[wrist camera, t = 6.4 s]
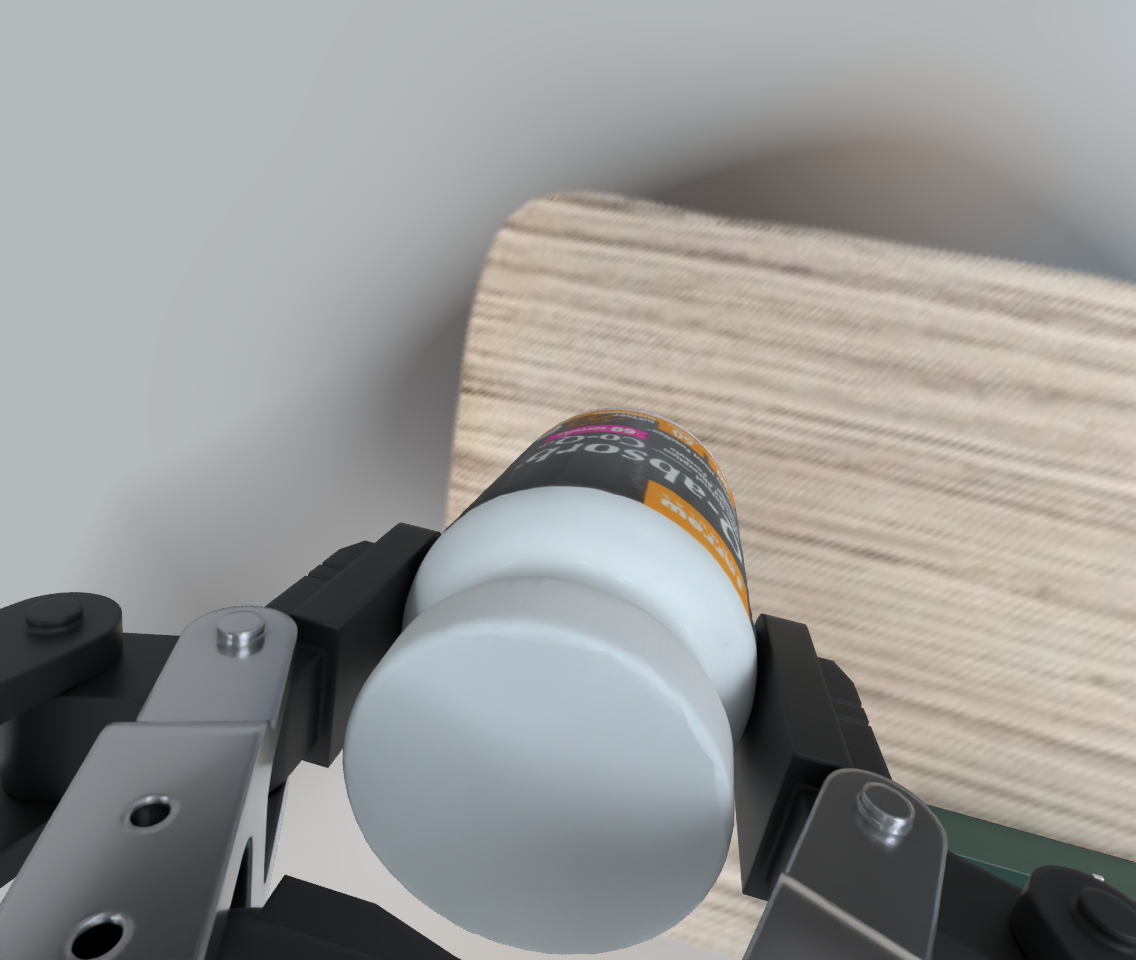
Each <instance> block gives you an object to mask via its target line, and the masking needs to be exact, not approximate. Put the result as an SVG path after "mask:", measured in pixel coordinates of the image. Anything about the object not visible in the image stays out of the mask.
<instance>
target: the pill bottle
mask: <svg viewBox="0 0 1136 960" xmlns="http://www.w3.org/2000/svg"><path fill="white" fill-rule="evenodd" d="M756 680H757V642H756V630H755V627H754V623H753V620H752V613H751V609H750V603H749V594H748V588H747V580H746V573H745V567H744V559H743V553H742V548H741V542H740V535H739V527H738V521H737V514H736V509H735V504H734V499H733V495H732V492H731V490H730V487H729V485H728V482H727V480H726V477H725V475H724V473H723V471H722V469H721V467H720V466H719V464H718V462H717V461H716V460H715V458H714V457H713V455H712V454H711V453H710V451H709V450H708V449H707V448H706V447H705V445H704V444H703V443H702V442H701V441H700V440H699V439H697V438H696V437H695V436H694V435H693V434H691V433H690V432H689V431H687V430H686V429H684V428H683V427H681V426H680V425H678V424H677V423H675V422H673V421H671V420H669V419H667V418H664V417H662V416H659V415H656V414H653V413H650V412H646V411H642V410H636V409H629V408H605V409H598V410H593V411H589V412H585V413H582V414H579V415H576V416H574V417H571V418H569V419H567V420H565V421H563V422H561V423H559V424H558V425H556V426H554V427H553V428H552V429H550V430H549V431H547V432H546V433H545V434H543V435H542V436H541V437H540V438H539V439H537V440H536V441H535V442H534V443H533V444H532V445H531V446H530V447H529V448H528V449H527V450H526V451H525V452H523V453H522V454H521V455H520V456H519V457H518V458H517V459H516V460H515V461H514V462H513V463H512V464H511V465H510V466H509V467H508V468H507V469H506V470H505V472H504V473H503V474H502V475H501V476H500V477H499V478H498V479H497V480H495V481H494V482H493V483H492V484H491V485H490V486H489V487H488V488H487V489H486V490H485V491H483V493H482V494H481V495H480V496H479V497H478V498H477V499H476V500H475V501H474V502H473V503H472V504H471V505H470V506H469V507H468V508H467V509H466V510H465V511H463V513H462V514H461V515H460V516H459V517H458V518H457V519H456V520H455V521H454V522H453V523H452V524H451V525H450V526H449V527H447V528H446V530H445V531H444V532H443V533H442V534H441V536H440V537H439V538H438V539H437V541H436V542H435V543H434V544H433V546H432V547H431V548H430V550H429V552H428V553H427V555H426V556H425V558H424V560H423V561H422V563H421V565H420V567H419V569H418V571H417V573H416V576H415V578H414V580H413V583H412V585H411V588H410V591H409V594H408V597H407V600H406V604H405V609H404V614H403V622H402V632H401V635H400V636H399V637H398V638H397V640H396V641H395V642H394V644H393V645H392V646H391V648H390V649H389V650H388V652H387V653H386V654H385V656H384V657H383V658H382V660H381V661H380V662H379V664H378V665H377V666H376V668H375V669H374V670H373V672H372V673H371V674H370V676H369V677H368V679H367V680H366V682H365V683H364V685H363V687H362V689H361V690H360V692H359V694H358V696H357V698H356V700H355V703H354V705H353V708H352V711H351V713H350V716H349V719H348V722H347V727H346V731H345V739H344V746H343V771H344V778H345V784H346V789H347V794H348V798H349V801H350V804H351V807H352V810H353V813H354V816H355V819H356V822H357V824H358V826H359V828H360V829H361V831H362V833H363V835H364V838H365V840H366V841H367V843H368V844H369V846H370V847H371V849H372V851H373V852H374V853H375V854H376V856H377V857H378V858H379V860H380V861H381V862H382V863H383V865H384V866H385V867H386V868H387V870H388V871H389V872H390V873H391V874H392V875H393V876H394V877H395V878H396V879H397V880H398V881H399V882H400V883H401V884H402V885H403V886H404V887H405V888H406V889H407V890H408V891H409V892H410V893H411V894H413V895H414V896H415V897H416V898H417V899H419V900H420V901H421V902H422V903H424V904H425V905H426V906H428V907H429V908H430V909H432V910H433V911H435V912H437V913H438V914H440V915H442V916H443V917H445V918H446V919H448V920H450V921H451V922H452V923H454V924H456V925H457V926H459V927H461V928H463V929H465V930H467V931H469V932H471V933H474V934H478V935H480V936H483V937H485V938H487V939H489V940H492V941H495V942H498V943H502V944H505V945H509V946H513V947H516V948H521V949H525V950H530V951H536V952H542V953H549V954H597V953H603V952H608V951H613V950H618V949H623V948H626V947H630V946H633V945H636V944H639V943H641V942H644V941H647V940H649V939H652V938H654V937H656V936H658V935H659V934H661V933H663V932H665V931H667V930H669V929H671V928H672V927H674V926H675V925H677V924H678V923H679V922H680V921H681V920H682V919H684V918H685V917H686V916H687V915H689V914H690V913H691V912H692V911H693V910H694V909H695V907H696V906H697V905H698V904H699V903H701V902H702V901H703V900H704V898H705V897H706V895H707V894H708V892H709V891H710V889H711V888H712V886H713V885H714V883H715V882H716V880H717V878H718V876H719V874H720V872H721V871H722V868H723V866H724V863H725V861H726V857H727V854H728V850H729V846H730V842H731V837H732V832H733V827H734V755H733V751H734V750H735V748H736V747H737V745H738V743H739V741H740V739H741V737H742V735H743V733H744V730H745V728H746V725H747V722H748V719H749V716H750V713H751V710H752V706H753V701H754V696H755V689H756Z"/></svg>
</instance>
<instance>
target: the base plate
mask: <svg viewBox="0 0 1136 960" xmlns="http://www.w3.org/2000/svg"><path fill="white" fill-rule="evenodd" d="M925 805H926V804H925ZM927 806H928V807H929V808H930V810H931V811H932V812H933V813H934V814H935V816H936V817H937V818H938V820H939V821H940V823H941V824H942V826H943V829H944V831H945V833H946V837H947V840H948V848H947V849H948V850H950V851H951V852H953V853H954V854H956V855H958V856H959V857H961V858H963V859H965V860H967V861H968V862H970V863H972V864H974V865H976V866H978V867H980V868H982V869H984V870H986V871H988V872H990V873H992V874H994V875H996V876H998V877H1000V878H1002V879H1004V880H1006V881H1008V882H1010V883H1012V884H1014V885H1016V886H1018V887H1019V888H1021V889H1023V888H1024V887H1025V885H1026V883H1027V881H1028V879H1029V878H1030V876H1031V874H1032V872H1033V871H1034V870H1035V869H1036V868H1039V867H1041V866H1046V865H1057V866H1063V867H1068V868H1072V869H1075V870H1078V871H1081V872H1083V873H1086V874H1088V875H1090V876H1092V877H1095V878H1097V879H1099V880H1100V881H1102V882H1104V883H1106V884H1108V885H1110V886H1111V887H1113V888H1115V889H1116V890H1118V891H1119V892H1121V893H1123V894H1124V895H1125V896H1127V897H1128V898H1130V899H1131V900H1132V901H1134V902H1135V903H1136V863H1135V862H1131V861H1128V860H1124V859H1120V858H1117V857H1113V856H1110V855H1106V854H1102V853H1099V852H1095V851H1092V850H1088V849H1084V848H1081V847H1077V846H1074V845H1070V844H1066V843H1063V842H1059V841H1056V840H1052V839H1048V838H1045V837H1041V836H1038V835H1034V834H1030V833H1027V832H1023V831H1020V830H1016V829H1012V828H1009V827H1005V826H1002V825H998V824H994V823H991V822H987V821H984V820H980V819H976V818H973V817H969V816H966V815H962V814H958V813H955V812H951V811H948V810H944V809H940V808H937V807H933V806H930V805H927Z"/></svg>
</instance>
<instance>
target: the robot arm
mask: <svg viewBox="0 0 1136 960" xmlns="http://www.w3.org/2000/svg"><path fill="white" fill-rule="evenodd" d="M440 536H441V533H440V532H437V531H434V530H430V529H426V528H421V527H417V526H414V525H410V524H406V523H399V524H397V525H396V526H395V527H393V528H392V529H391V530H390V531H389V532H387V533H386V534H385V535H384V536H383V537H381V538H380V539H379V540H378V541H377V542H376V543H372V542H368V541H363V542H360V543H357V544H354V545H351V546H348V547H345V548H342V549H339V550H338V551H337V552H335V553H334V554H333V555H332V556H330V557H329V558H328V559H326V560H325V561H324V562H323V564H322V565H319V566H317V567H316V568H315V569H313V570H312V571H311V572H309V575H308V576H304V577H303V578H301V579H300V580H299V581H298V582H296V583H295V584H294V585H293V586H291V587H290V588H288V589H287V590H286V591H285V592H283V593H282V594H281V595H279V596H278V597H277V598H275V599H274V600H273V601H272V602H270V603H269V604H268V605H266V606H265V607H262V606H261V607H260V606H234V607H228V608H222V609H219V610H215V611H212V612H209V613H207V614H204V615H202V616H200V617H198V618H197V619H195V620H194V621H192V622H191V623H190V624H189V625H187V626H186V628H185V629H184V630H183V632H182V634H181V636H171V635H154V634H137V633H123V629H122V610H121V608H120V607H119V605H118V604H117V603H116V602H115V601H114V600H112V599H110V598H107V597H105V596H102V595H97V594H92V593H80V592H70V593H56V594H49V595H43V596H38V597H34V598H30V599H27V600H24V601H21V602H18V603H15V604H12V605H10V606H7V607H4V608H2V609H0V888H1V887H3V886H4V885H5V884H7V883H8V882H10V881H11V880H12V879H14V878H15V877H16V878H15V879H14V881H13V883H12V885H11V886H10V888H9V890H8V892H7V893H6V895H5V897H4V898H3V900H2V902H1V903H0V960H460V959H459V958H457V957H455V956H454V955H452V954H451V953H449V952H448V951H446V950H444V949H443V948H441V947H440V946H438V945H437V944H435V943H434V942H432V941H431V940H429V939H428V938H426V937H425V936H423V935H422V934H420V933H419V932H417V931H416V930H414V929H413V928H411V927H410V926H408V925H407V924H405V923H404V922H402V921H401V920H399V919H398V918H396V917H395V916H393V915H392V914H390V913H389V912H387V911H386V910H384V909H383V908H381V907H380V906H378V905H377V904H375V903H372V902H368V901H365V900H362V899H359V898H356V897H353V896H350V895H347V894H344V893H341V892H337V891H334V890H331V889H328V888H325V887H322V886H319V885H316V884H313V883H309V882H306V881H303V880H300V879H296V878H294V877H291V876H288V875H284V877H283V878H282V880H281V881H280V883H279V884H278V885H277V887H276V888H275V890H274V891H273V893H272V894H271V896H270V897H269V899H268V900H267V898H268V892H269V887H270V882H271V877H272V872H273V867H274V862H275V857H276V852H277V846H278V841H279V836H280V831H281V826H282V821H283V815H284V810H285V805H286V800H287V795H288V782H289V775H290V774H291V772H293V770H294V769H295V768H296V766H297V765H298V764H299V763H300V762H301V760H303V761H306V762H310V763H313V764H317V765H320V766H323V767H327V768H328V767H329V766H330V765H331V764H332V762H333V761H334V759H335V758H336V757H337V755H338V754H339V753H340V751H341V750H342V749H343V746H344V739H345V731H346V727H347V722H348V719H349V716H350V713H351V711H352V708H353V705H354V703H355V700H356V698H357V696H358V694H359V692H360V690H361V689H362V687H363V685H364V683H365V682H366V680H367V679H368V677H369V676H370V674H371V673H372V672H373V670H374V669H375V668H376V666H377V665H378V664H379V662H380V661H381V660H382V658H383V657H384V656H385V654H386V653H387V652H388V650H389V649H390V648H391V646H392V645H393V644H394V642H395V641H396V640H397V638H398V637H399V636H400V635H401V632H402V622H403V614H404V609H405V604H406V600H407V597H408V594H409V591H410V588H411V585H412V583H413V580H414V578H415V576H416V573H417V571H418V569H419V567H420V565H421V563H422V561H423V560H424V558H425V556H426V555H427V553H428V552H429V550H430V548H431V547H432V546H433V544H434V543H435V542H436V541H437V539H438V538H439V537H440ZM754 627H755V630H756V642H757V680H756V689H755V696H754V701H753V706H752V710H751V713H750V716H749V719H748V722H747V725H746V728H745V730H744V733H743V735H742V737H741V739H740V741H739V743H738V745H737V747H736V748H735V750H734V751H733V755H734V795H735V807H736V819H737V832H738V844H739V856H740V868H741V881H742V893H743V894H745V895H749V896H752V897H755V898H759V899H762V900H765V901H768V903H767V906H766V908H765V910H764V912H763V915H762V917H761V919H760V921H759V924H758V926H757V928H756V930H755V933H754V935H753V937H752V939H751V941H750V944H749V946H748V948H747V950H746V953H745V955H744V957H743V959H742V960H1136V903H1135V902H1134V901H1132V900H1131V899H1130V898H1128V897H1127V896H1125V895H1124V894H1123V893H1121V892H1119V891H1118V890H1116V889H1115V888H1113V887H1111V886H1110V885H1108V884H1106V883H1104V882H1102V881H1100V880H1099V879H1097V878H1095V877H1092V876H1090V875H1088V874H1086V873H1083V872H1081V871H1078V870H1075V869H1072V868H1068V867H1063V866H1057V865H1046V866H1041V867H1039V868H1036V869H1035V870H1034V871H1033V872H1032V874H1031V876H1030V878H1029V879H1028V881H1027V883H1026V885H1025V887H1024V888H1023V889H1021V888H1019V887H1018V886H1016V885H1014V884H1012V883H1010V882H1008V881H1006V880H1004V879H1002V878H1000V877H998V876H996V875H994V874H992V873H990V872H988V871H986V870H984V869H982V868H980V867H978V866H976V865H974V864H972V863H970V862H968V861H967V860H965V859H963V858H961V857H959V856H958V855H956V854H954V853H953V852H951V851H950V850H948V849H947V848H948V840H947V837H946V833H945V831H944V829H943V826H942V824H941V823H940V821H939V820H938V818H937V817H936V816H935V814H934V813H933V812H932V811H931V810H930V808H929V807H928V806H927V805H925V804H924V803H923V802H922V801H921V800H920V799H919V798H918V797H916V796H915V795H914V794H913V793H911V792H910V791H909V790H907V789H906V788H904V787H903V786H901V785H899V784H898V783H896V782H894V781H892V778H891V776H890V773H889V771H888V768H887V766H886V763H885V761H884V758H883V756H882V753H881V751H880V748H879V746H878V743H877V741H876V738H875V736H874V733H873V731H872V728H871V726H868V723H869V721H868V718H867V716H866V713H865V711H864V708H861V704H862V703H861V701H860V698H859V696H858V693H857V691H856V688H855V686H854V683H853V682H852V681H851V680H850V678H849V677H848V676H847V675H846V674H845V673H844V672H843V671H842V670H841V669H840V668H839V667H838V666H837V665H836V663H835V662H834V661H832V660H828V659H824V658H820V657H817V655H816V652H815V649H814V646H813V643H812V640H811V636H810V633H809V630H808V628H807V626H806V624H802V623H798V622H794V621H790V620H786V619H782V618H778V617H774V616H770V615H766V614H760V615H759V617H758V619H757V621H756V623H755V626H754Z"/></svg>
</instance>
